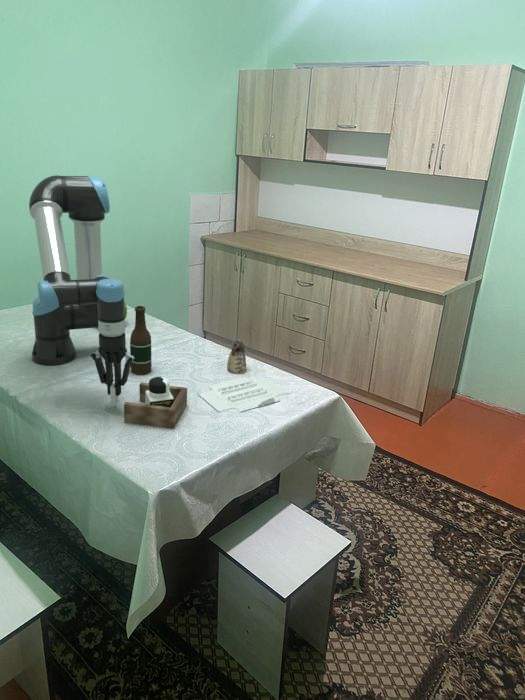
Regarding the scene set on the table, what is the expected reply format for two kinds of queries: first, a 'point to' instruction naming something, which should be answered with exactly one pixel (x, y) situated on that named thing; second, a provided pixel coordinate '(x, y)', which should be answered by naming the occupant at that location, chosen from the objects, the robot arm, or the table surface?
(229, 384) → the tray
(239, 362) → the figurine
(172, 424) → the box
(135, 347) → the beer bottle
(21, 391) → the table surface
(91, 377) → the table surface
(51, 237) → the robot arm
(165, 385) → the medicine bottle
